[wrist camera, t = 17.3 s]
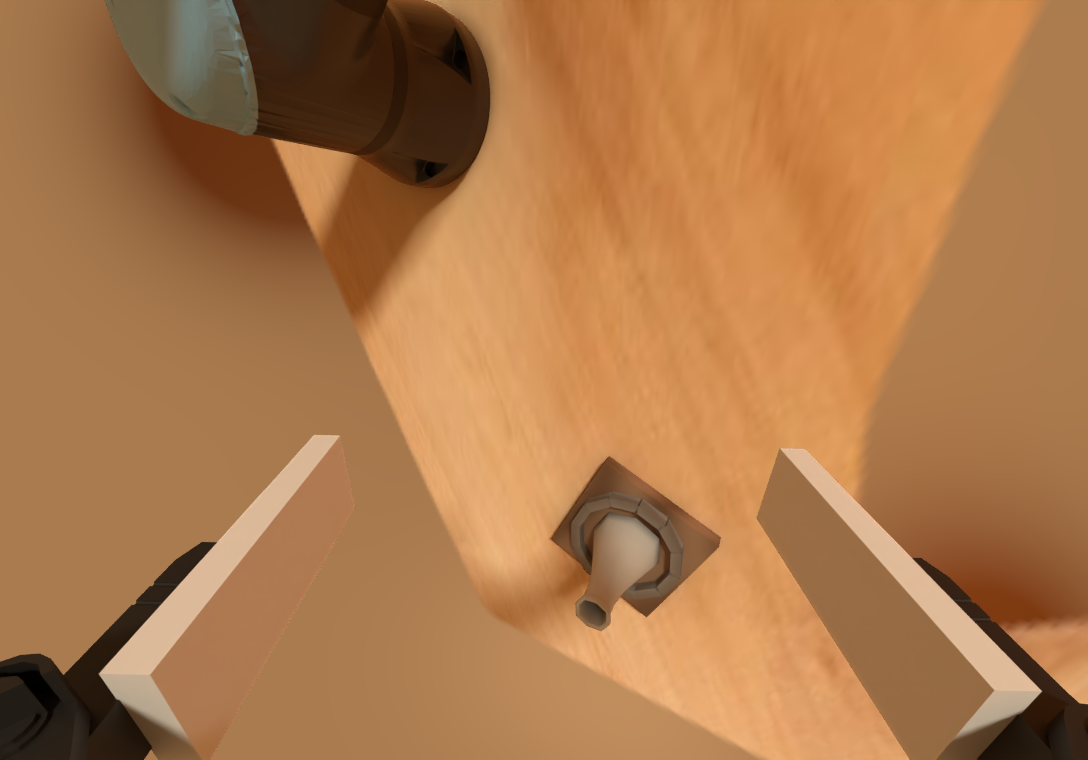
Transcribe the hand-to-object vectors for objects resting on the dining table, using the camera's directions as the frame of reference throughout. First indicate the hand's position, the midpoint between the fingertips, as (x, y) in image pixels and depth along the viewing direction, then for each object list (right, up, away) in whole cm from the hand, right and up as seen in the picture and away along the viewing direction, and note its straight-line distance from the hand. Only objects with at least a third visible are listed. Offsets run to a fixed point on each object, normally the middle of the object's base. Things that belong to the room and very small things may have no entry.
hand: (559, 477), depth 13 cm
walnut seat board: (+9, -14, +32) cm, 36 cm away
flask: (+8, -14, +31) cm, 35 cm away
